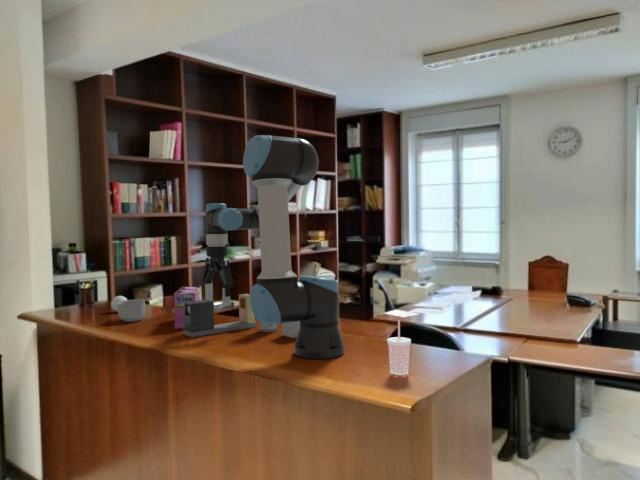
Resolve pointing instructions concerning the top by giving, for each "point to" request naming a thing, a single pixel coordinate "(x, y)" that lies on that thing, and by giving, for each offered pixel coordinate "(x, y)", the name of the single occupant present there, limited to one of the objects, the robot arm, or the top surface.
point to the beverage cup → (399, 353)
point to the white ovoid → (116, 300)
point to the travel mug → (268, 328)
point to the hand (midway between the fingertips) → (217, 303)
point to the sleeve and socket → (204, 314)
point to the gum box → (184, 296)
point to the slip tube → (218, 306)
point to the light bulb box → (291, 329)
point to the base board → (221, 329)
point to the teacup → (131, 310)
